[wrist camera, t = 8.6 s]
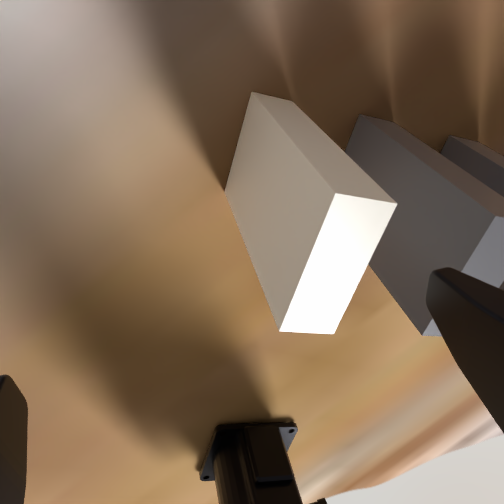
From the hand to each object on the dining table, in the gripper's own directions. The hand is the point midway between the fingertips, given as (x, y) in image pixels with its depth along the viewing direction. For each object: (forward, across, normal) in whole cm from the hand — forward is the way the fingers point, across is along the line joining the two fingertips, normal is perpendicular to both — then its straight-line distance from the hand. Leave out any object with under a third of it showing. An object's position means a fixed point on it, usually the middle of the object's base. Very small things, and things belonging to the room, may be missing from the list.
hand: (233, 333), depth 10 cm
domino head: (+13, -4, +2) cm, 14 cm away
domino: (+13, -9, +4) cm, 16 cm away
